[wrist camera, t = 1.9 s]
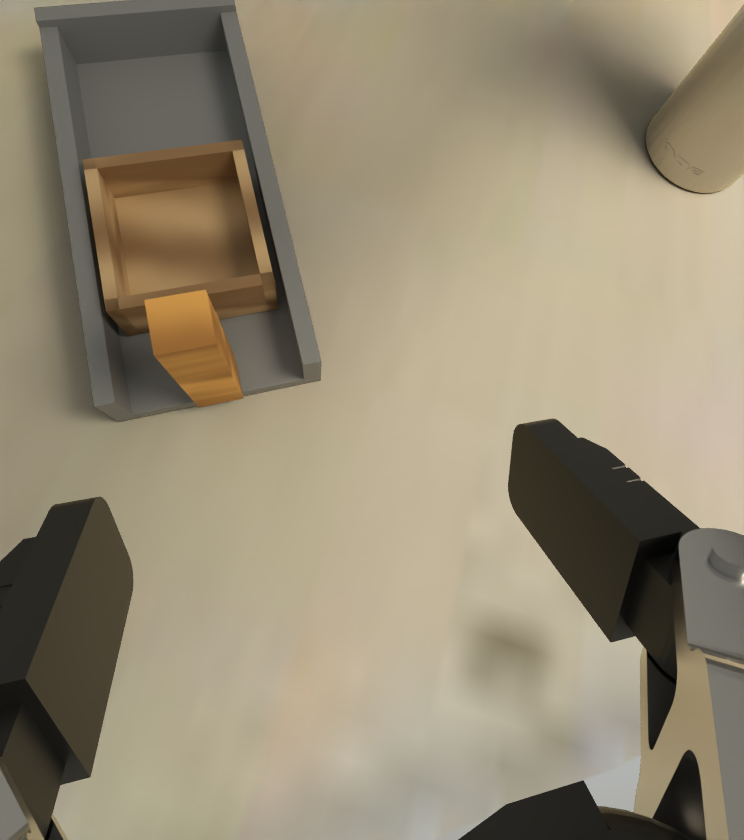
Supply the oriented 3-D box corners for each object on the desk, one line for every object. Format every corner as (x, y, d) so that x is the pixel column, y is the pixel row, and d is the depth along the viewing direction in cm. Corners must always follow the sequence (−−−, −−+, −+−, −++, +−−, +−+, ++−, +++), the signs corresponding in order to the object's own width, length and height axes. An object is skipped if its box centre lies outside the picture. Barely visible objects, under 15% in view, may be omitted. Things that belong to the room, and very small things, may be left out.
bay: (64, 65, 40) (34, 7, 36) (240, 48, 43) (232, -8, 38) (118, 422, 34) (90, 404, 30) (320, 380, 37) (321, 358, 32)
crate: (105, 197, 37) (33, 78, 27) (248, 177, 38) (227, 59, 29) (141, 419, 33) (73, 370, 24) (297, 387, 35) (290, 329, 26)
